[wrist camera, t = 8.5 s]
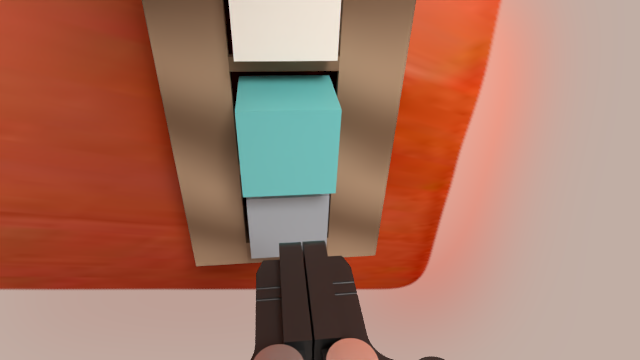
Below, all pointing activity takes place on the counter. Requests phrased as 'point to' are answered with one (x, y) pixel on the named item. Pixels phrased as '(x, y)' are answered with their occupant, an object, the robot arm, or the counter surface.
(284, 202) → the grey key
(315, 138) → the teal key
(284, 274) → the robot arm
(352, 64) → the frame
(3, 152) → the counter surface
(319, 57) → the ivory key
